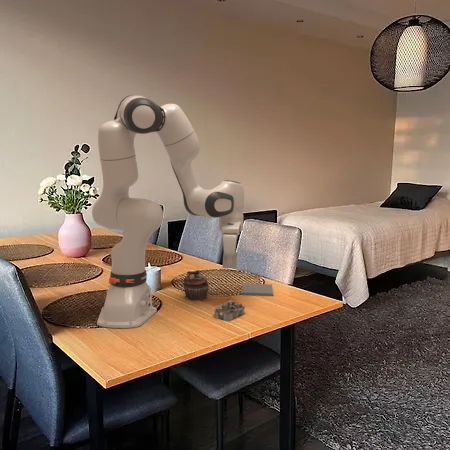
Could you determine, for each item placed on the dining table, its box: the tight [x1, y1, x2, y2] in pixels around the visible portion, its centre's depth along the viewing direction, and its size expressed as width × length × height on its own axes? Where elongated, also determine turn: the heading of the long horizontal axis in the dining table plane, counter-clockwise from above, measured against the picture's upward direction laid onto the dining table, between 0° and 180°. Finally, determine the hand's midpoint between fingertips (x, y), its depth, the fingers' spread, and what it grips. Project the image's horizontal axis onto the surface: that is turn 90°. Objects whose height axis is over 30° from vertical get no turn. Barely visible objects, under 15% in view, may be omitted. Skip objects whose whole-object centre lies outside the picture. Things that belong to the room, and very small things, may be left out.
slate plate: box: [241, 283, 274, 297], centre depth 181 cm, size 12×12×1 cm
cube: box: [222, 251, 238, 270], centre depth 168 cm, size 5×5×5 cm
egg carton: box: [212, 299, 246, 322], centre depth 154 cm, size 11×8×4 cm
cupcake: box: [182, 269, 210, 302], centre depth 172 cm, size 10×10×10 cm
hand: (229, 262), depth 168 cm, fingers closed on cube, 5 cm apart
